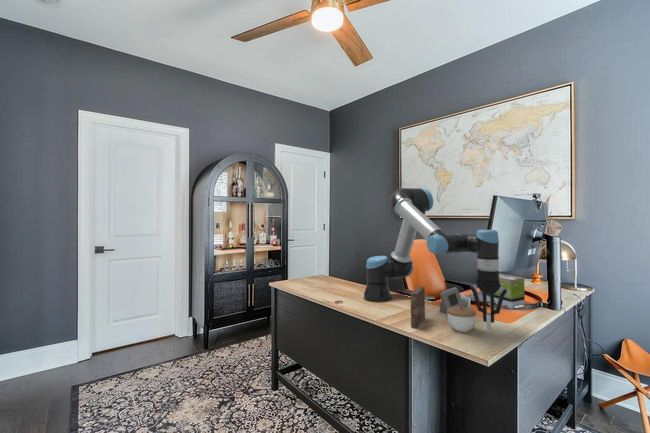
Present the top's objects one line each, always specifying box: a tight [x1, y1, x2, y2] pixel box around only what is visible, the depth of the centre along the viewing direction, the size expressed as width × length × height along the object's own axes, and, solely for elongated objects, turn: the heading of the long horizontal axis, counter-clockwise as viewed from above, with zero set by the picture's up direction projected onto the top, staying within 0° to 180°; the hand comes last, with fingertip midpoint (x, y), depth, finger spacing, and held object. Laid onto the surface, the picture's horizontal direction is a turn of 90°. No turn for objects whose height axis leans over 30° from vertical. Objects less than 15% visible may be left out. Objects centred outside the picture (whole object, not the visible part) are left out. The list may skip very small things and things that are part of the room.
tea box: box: [487, 272, 526, 310], centre depth 159 cm, size 15×10×15 cm, turn 23°
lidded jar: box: [446, 306, 477, 333], centre depth 125 cm, size 11×11×9 cm
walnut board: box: [410, 286, 426, 329], centre depth 134 cm, size 2×15×14 cm, turn 150°
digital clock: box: [439, 286, 465, 315], centre depth 149 cm, size 16×9×11 cm, turn 122°
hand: (488, 330), depth 121 cm, fingers closed
